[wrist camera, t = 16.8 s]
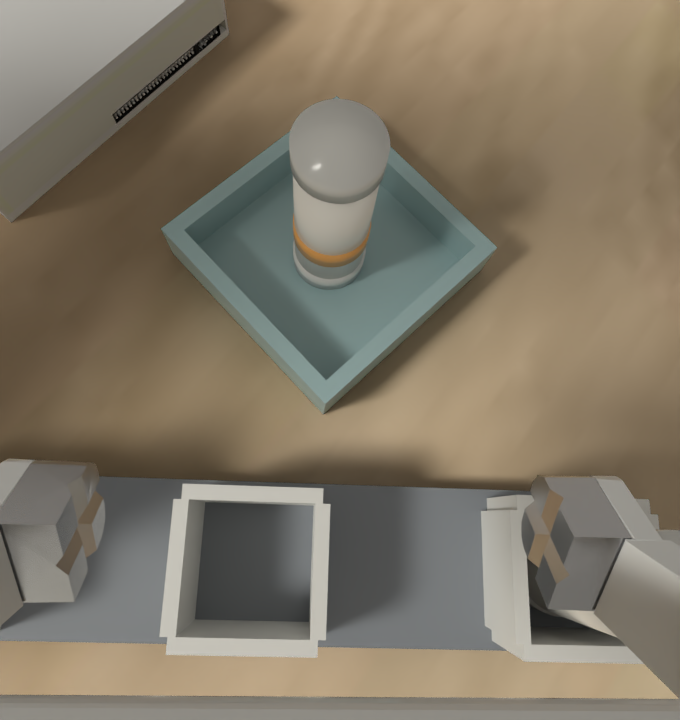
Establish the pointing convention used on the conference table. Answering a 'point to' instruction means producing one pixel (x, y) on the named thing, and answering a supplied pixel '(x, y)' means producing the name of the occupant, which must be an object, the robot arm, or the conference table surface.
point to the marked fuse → (335, 188)
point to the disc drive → (86, 78)
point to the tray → (317, 306)
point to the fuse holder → (311, 573)
